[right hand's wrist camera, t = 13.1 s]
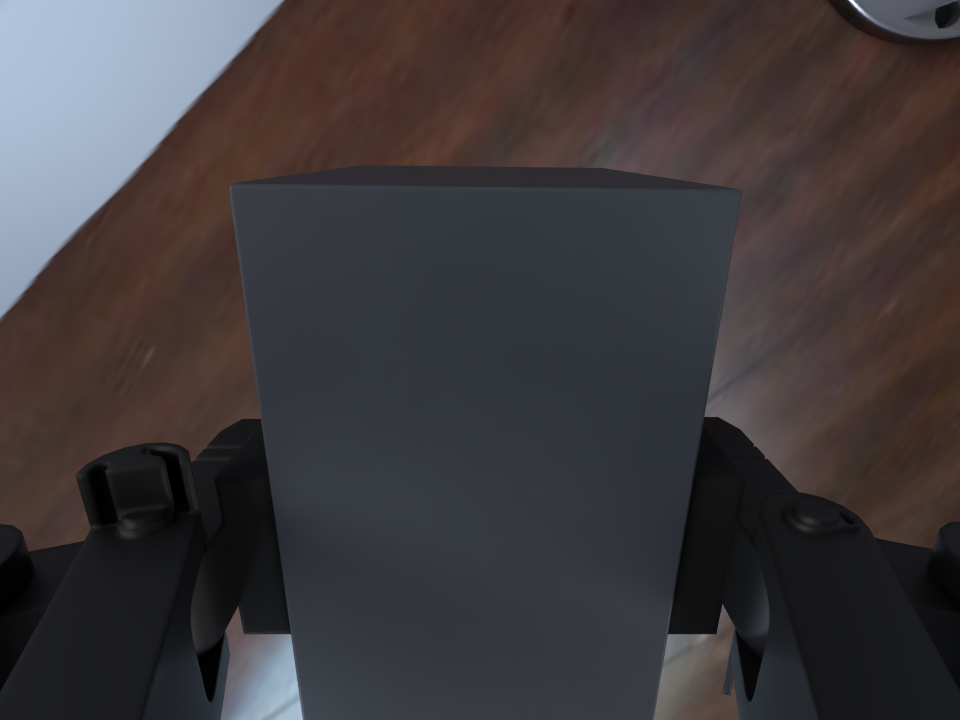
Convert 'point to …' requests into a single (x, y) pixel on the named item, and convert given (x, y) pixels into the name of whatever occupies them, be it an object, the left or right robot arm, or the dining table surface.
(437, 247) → the bar
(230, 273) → the dining table surface
